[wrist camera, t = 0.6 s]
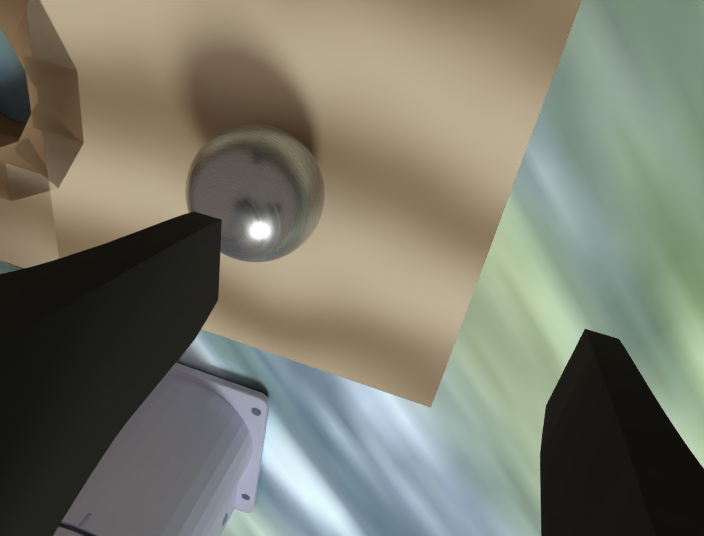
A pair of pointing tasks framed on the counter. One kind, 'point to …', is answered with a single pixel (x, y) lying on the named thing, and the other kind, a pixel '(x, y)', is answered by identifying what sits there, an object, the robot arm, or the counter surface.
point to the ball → (257, 191)
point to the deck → (308, 127)
